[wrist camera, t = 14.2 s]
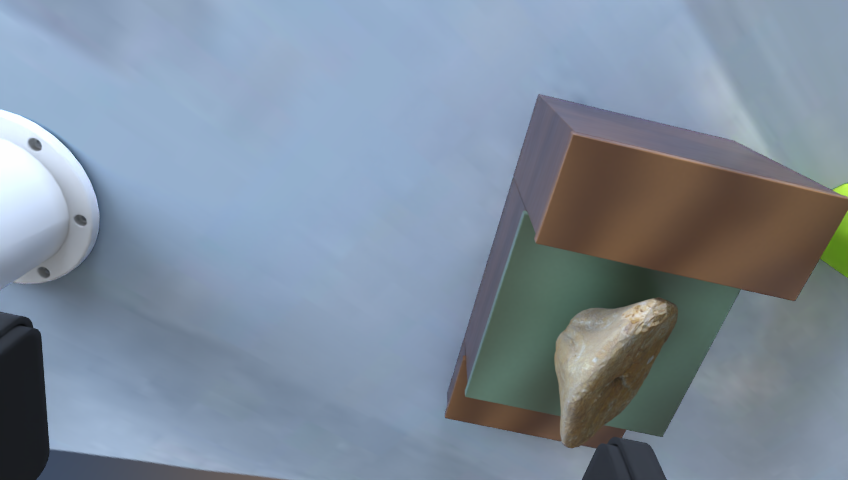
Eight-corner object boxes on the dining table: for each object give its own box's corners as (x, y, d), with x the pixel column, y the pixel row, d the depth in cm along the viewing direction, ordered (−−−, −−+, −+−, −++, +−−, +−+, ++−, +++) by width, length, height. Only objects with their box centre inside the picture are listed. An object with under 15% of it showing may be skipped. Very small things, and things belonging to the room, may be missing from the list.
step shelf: (444, 392, 44) (444, 509, 34) (535, 93, 34) (572, 133, 24) (604, 424, 45) (651, 548, 35) (737, 141, 35) (855, 200, 25)
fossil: (559, 479, 30) (605, 355, 24) (502, 424, 33) (531, 300, 27) (649, 398, 35) (706, 278, 29) (593, 356, 38) (635, 238, 32)
